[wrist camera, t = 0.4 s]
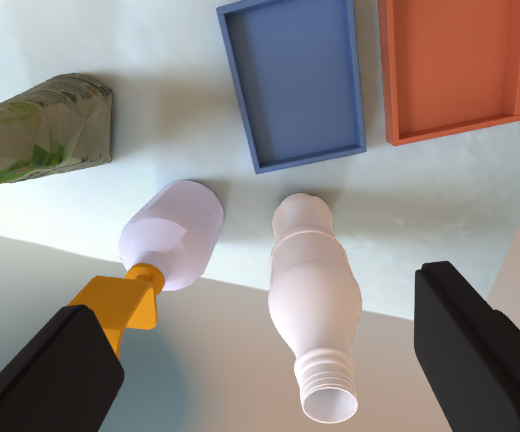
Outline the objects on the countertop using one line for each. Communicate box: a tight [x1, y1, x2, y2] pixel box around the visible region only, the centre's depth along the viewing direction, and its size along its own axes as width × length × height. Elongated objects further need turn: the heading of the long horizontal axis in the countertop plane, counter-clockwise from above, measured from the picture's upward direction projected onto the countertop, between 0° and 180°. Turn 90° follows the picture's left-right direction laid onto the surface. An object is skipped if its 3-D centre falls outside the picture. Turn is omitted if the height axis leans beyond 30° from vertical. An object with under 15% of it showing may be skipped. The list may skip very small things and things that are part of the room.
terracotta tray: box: [378, 0, 520, 146], centre depth 30 cm, size 16×12×2 cm
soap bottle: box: [67, 180, 224, 398], centre depth 29 cm, size 9×9×25 cm
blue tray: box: [216, 0, 366, 174], centre depth 32 cm, size 16×12×2 cm
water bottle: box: [268, 193, 362, 423], centre depth 28 cm, size 7×7×25 cm
